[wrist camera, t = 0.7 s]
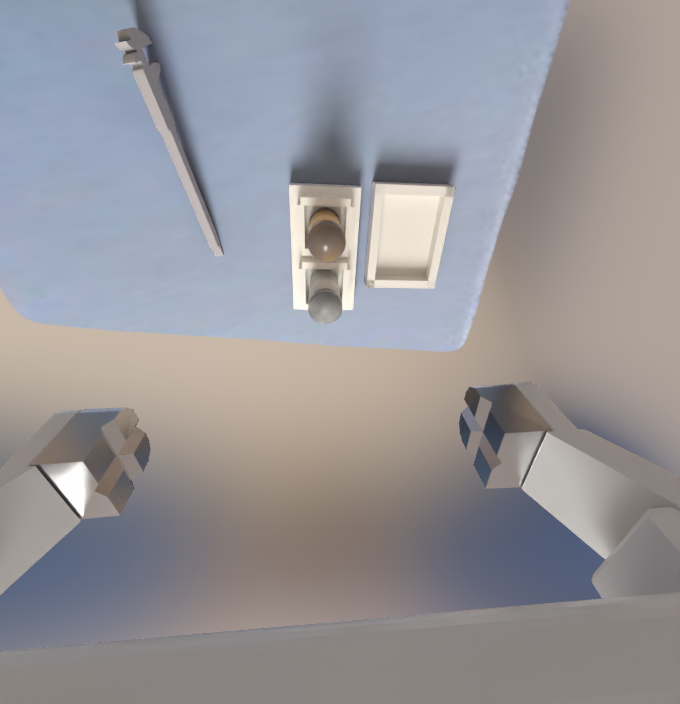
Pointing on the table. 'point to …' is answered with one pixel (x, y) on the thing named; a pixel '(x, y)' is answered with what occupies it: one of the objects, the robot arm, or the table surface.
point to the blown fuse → (325, 235)
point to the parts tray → (406, 233)
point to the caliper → (165, 123)
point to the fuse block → (312, 274)
